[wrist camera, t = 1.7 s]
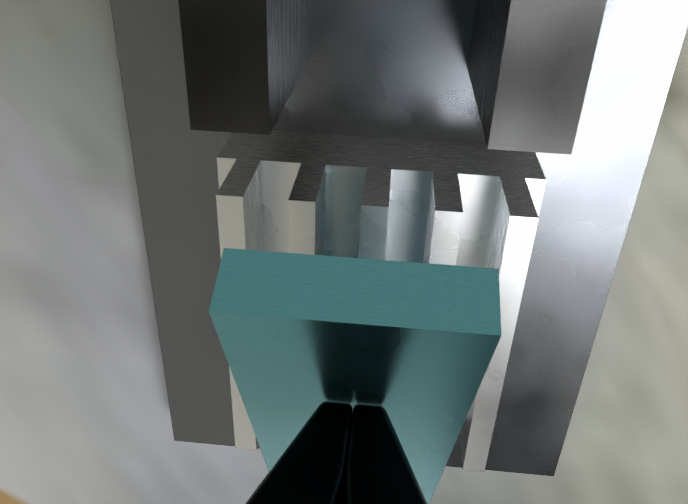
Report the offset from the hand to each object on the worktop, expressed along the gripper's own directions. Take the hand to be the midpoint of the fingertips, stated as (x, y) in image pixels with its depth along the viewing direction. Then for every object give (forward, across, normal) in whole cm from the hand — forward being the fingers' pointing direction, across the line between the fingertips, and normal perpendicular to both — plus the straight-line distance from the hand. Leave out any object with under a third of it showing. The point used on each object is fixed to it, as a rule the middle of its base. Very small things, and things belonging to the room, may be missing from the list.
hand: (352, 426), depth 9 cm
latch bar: (+3, 0, +4) cm, 5 cm away
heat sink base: (+12, 0, +3) cm, 12 cm away
